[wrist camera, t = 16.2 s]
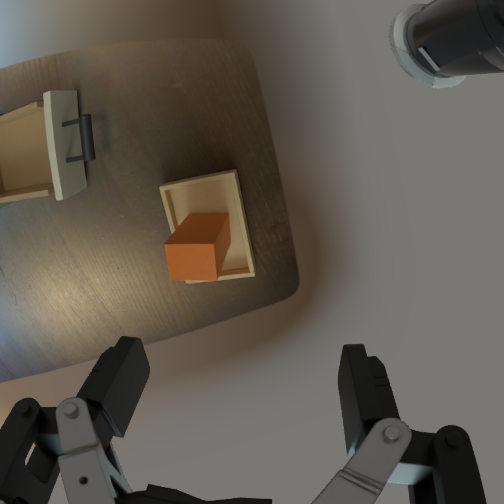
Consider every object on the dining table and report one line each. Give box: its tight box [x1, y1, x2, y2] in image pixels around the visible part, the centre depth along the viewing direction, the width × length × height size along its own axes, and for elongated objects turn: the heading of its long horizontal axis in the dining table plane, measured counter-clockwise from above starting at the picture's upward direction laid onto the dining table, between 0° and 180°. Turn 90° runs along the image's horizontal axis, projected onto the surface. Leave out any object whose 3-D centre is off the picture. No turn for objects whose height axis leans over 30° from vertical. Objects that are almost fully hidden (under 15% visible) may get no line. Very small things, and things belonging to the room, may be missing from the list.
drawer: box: [0, 90, 95, 203], centre depth 33 cm, size 22×13×6 cm, turn 92°
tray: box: [159, 169, 256, 284], centre depth 39 cm, size 13×9×2 cm
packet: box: [164, 213, 231, 281], centre depth 35 cm, size 5×4×10 cm
